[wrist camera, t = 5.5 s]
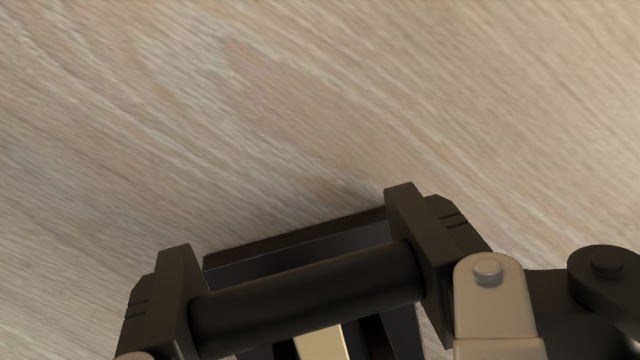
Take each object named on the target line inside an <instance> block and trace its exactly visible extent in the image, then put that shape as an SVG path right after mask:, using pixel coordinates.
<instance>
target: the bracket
mask: <svg viewBox="0 0 640 360" xmlns="http://www.w3.org/2000/svg"><path fill="white" fill-rule="evenodd" d="M391 241H392V237H391V232H390V227H389V221H388V216H387V211H386V206H383V207H380V208H376V209H372V210H369V211H365V212H362V213H358V214H354V215H351V216H347V217H344V218H340V219H337V220H333V221H329V222H326V223H322V224H319V225H315V226H312V227H308V228H304V229H301V230H297V231H294V232H290V233H287V234H283V235H279V236H276V237H272V238H269V239H265V240H262V241H258V242H254V243H251V244H247V245H244V246H240V247H237V248H233V249H229V250H226V251H222V252H219V253H215V254H212V255H208V256H204V257H203V269H202V272H203V275H204V277H205V280H206V282H207V285H208V287H209V290H210V292H214V291H218V290H221V289H225V288H228V287H232V286H235V285H239V284H242V283H246V282H249V281H253V280H256V279H260V278H264V277H267V276H271V275H274V274H278V273H281V272H285V271H288V270H292V269H295V268H299V267H302V266H306V265H309V264H313V263H317V262H320V261H324V260H327V259H331V258H334V257H338V256H341V255H345V254H348V253H352V252H355V251H359V250H362V249H366V248H369V247H373V246H377V245H380V244H384V243H387V242H391ZM340 325H341V329H342V333H343V336H344V340H345V344H346V348H347V351H348V355H349V359H350V360H426V358H425V352H424V347H423V341H422V336H421V330H420V325H419V319H418V314H417V308H416V303H411V304H408V305H404V306H401V307H398V308H394V309H391V310H387V311H384V312H380V313H377V314H373V315H370V316H366V317H363V318H360V319H356V320H353V321H349V322H346V323H342V324H340ZM235 355H236V358H237V360H300V358H299V355H298V352H297V349H296V346H295V343H294V340H293V338H290V339H287V340H284V341H280V342H277V343H273V344H270V345H266V346H263V347H259V348H256V349H252V350H249V351H246V352H242V353H239V354H235Z"/></svg>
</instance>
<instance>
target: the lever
mask: <svg viewBox="0 0 640 360" xmlns="http://www.w3.org/2000/svg"><path fill="white" fill-rule="evenodd" d="M424 298H425V287H424V282H423V277H422V273H421V270H420V267H419V264H418V261H417V258H416V255H415V253H414V251H413V249H412V247H411V245H410V243H409V242H408V240H407V239H405V238H401V239H398V240H394V241H391V242H387V243H384V244H380V245H377V246H373V247H369V248H366V249H362V250H359V251H355V252H352V253H348V254H345V255H341V256H338V257H334V258H331V259H327V260H324V261H320V262H317V263H313V264H309V265H306V266H302V267H299V268H295V269H292V270H288V271H285V272H281V273H278V274H274V275H271V276H267V277H264V278H260V279H256V280H253V281H249V282H246V283H242V284H239V285H235V286H232V287H228V288H225V289H221V290H218V291H214V292H211V293H207V294H204V295H200V296H196V297H193V298H192V299H191V300H190V303H189V321H190V328H191V333H192V337H193V340H194V344H195V346H196V349H197V351H198V354H199V355H200V357H201V359H202V360H218V359H221V358H225V357H228V356H232V355H235V354H239V353H242V352H246V351H249V350H252V349H256V348H259V347H263V346H266V345H270V344H273V343H277V342H280V341H284V340H287V339H290V338H293V340H294V343H295V346H296V349H297V352H298V355H299V358H300V360H350V359H349V355H348V351H347V348H346V344H345V340H344V336H343V333H342V329H341V325H340V324H342V323H346V322H349V321H353V320H356V319H360V318H363V317H366V316H370V315H373V314H377V313H380V312H384V311H387V310H391V309H394V308H398V307H401V306H404V305H408V304H411V303H415V302H418V301H422V300H423V299H424Z"/></svg>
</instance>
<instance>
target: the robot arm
mask: <svg viewBox="0 0 640 360" xmlns="http://www.w3.org/2000/svg"><path fill="white" fill-rule="evenodd" d="M383 194H384V200H385V206H386V211H387V216H388V221H389V227H390V232H391V237H392V241H394V240H398V239H401V238H405V239H407V240H408V242H409V243H410V245H411V247H412V249H413V251H414V253H415V255H416V258H417V261H418V264H419V267H420V270H421V273H422V277H423V282H424V287H425V298H424V299H423V300H422V301H420V303H421V304H422V306H423V308H424V310H425V312H426V314H427V316H428V318H429V320H430V322H431V324H432V326H433V327H434V329H435V331H436V333H437V335H438V337H439V339H440V341H441V343H442V345H443V347H444V349H445V350H448V349H451V348H453V360H640V255H638V254H636V253H635V252H632V251H630V250H628V249H625V248H622V247H618V246H613V245H602V244H601V245H590V246H586V247H582V248H580V249H578V250H576V251H574V252H573V253H572V254H571V255H570V256H569V258H568V261H567V269H551V270H528V269H523V267H522V265H521V264H520V263H519V262H518V261H517V260H516V259H514V258H513V257H511V256H508V255H506V254H502V253H497V252H493V250H492V249H491V248H490V247H489V246H488V244H487V243H486V242H485V241H484V240H483V238H482V237H481V236H480V235H479V233H478V232H477V231H476V230H475V229H474V227H473V226H472V225H471V224H470V223H468V220H467V219H466V218H465V217H464V215H463V214H461V212H460V211H459V209H458V208H457V207H456V206H455V205H454V203H453V202H452V201H450V200H448V199H446V198H444V197H442V196H439V195H437V194H434V195H431V196H427V197H424V198H423V196H422V195H421V193H420V192H419V191H418V189H417V188H416V187H415V185H414V184H413V183H412V182H407V183H403V184H400V185H396V186H393V187H389V188H385V189H384V190H383ZM207 293H210V291H209V289H208V286H207V284H206V281H205V279H204V276H203V274H202V271H201V269H200V266H199V264H198V261H197V259H196V256H195V254H194V251H193V249H192V247H191V246H190V244H189V243H186V244H182V245H179V246H175V247H172V248H168V249H164V250H161V251H159V252H158V256H157V261H156V266H155V271H154V273H150V274H147V275H143V276H142V277H141V279H140V280H139V281H138V283H137V284H136V285H135V287H134V288H133V289H132V291H131V294H130V298H129V302H128V308H127V310H126V314H125V320H124V322H123V326H122V330H121V334H120V337H119V341H118V345H117V349H116V353H115V357H114V359H113V360H202V359H201V357H200V355H199V354H198V351H197V349H196V346H195V344H194V340H193V337H192V333H191V328H190V321H189V303H190V300H191V299H192V298H193V297H196V296H200V295H204V294H207Z"/></svg>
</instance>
